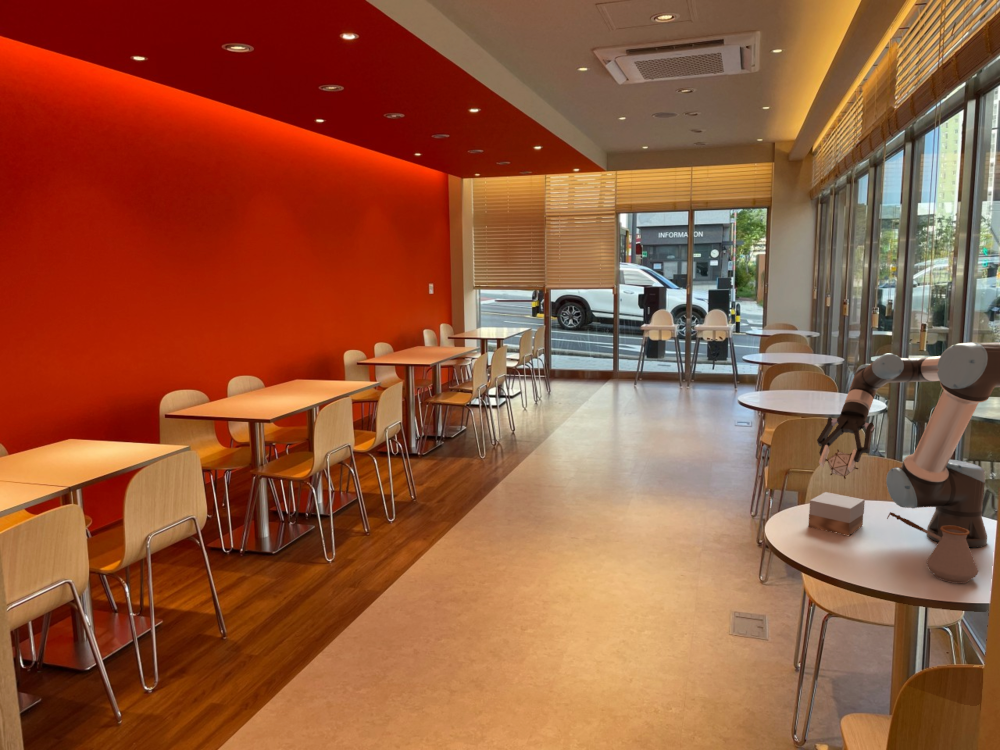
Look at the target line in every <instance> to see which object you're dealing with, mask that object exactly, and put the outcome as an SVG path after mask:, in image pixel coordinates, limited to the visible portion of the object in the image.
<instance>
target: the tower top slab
mask: <svg viewBox="0 0 1000 750" xmlns="http://www.w3.org/2000/svg"><path fill="white" fill-rule="evenodd" d="M865 501H866V500H865V499H864V498H863V499H862V498H858V497H852V496H848V495H843V494H838V493H832V492H829V491H828V492H827V491H824V492H823V493H821V494H819V495H817V496H815V497H813V498H811V499H810V500H809V511H808V512H809V513H808V515H809V514H810V515H815V516H819V517H824V518H828V519H833V520H837V521H842V522H847V523H850V522H852V521H854V520H855V519H857V518H858V517H860V516H861V515H863V516H864V514H865V504H866V503H865Z"/></svg>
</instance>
